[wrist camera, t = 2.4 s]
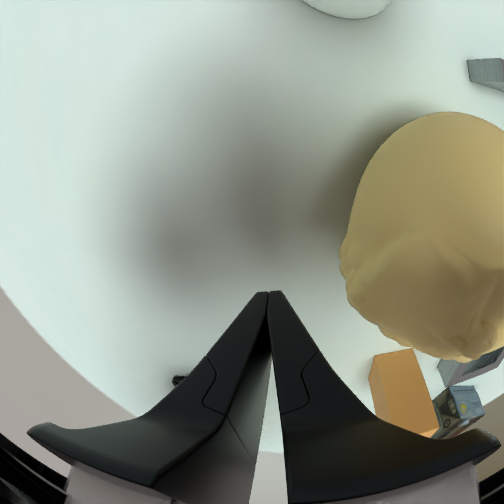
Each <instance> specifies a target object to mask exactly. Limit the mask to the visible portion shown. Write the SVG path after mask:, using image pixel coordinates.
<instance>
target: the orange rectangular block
mask: <svg viewBox="0 0 504 504" xmlns="http://www.w3.org/2000/svg"><path fill="white" fill-rule="evenodd" d="M368 380H369V384H370V389H371V393H372V398H373V403H374V408H375V413H376V416H377V417H378V418H380V419H382V420H384V421H386V422H389V423H391V424H394V425H396V426H399V427H401V428H404V429H406V430H409V431H412V432H414V433H417V434H420V435H423V436H425V437H429V438H430V437H431V436H432V435H433V434H434V433H435V432H436V431H437V430H438V429H439V428H440V427H439V424H438V420H437V417H436V413H435V410H434V407H433V404H432V401H431V398H430V395H429V392H428V389H427V386H426V383H425V380H424V377H423V375H422V372H421V369H420V366H419V364H418V361H417V359H416V356H415V354H414V351H413V349H412V348H411V349H406V350H401V351H396V352H391V353H385V354H380V355H375V356H374V360H373V364H372V367H371V371H370V374H369V378H368Z"/></svg>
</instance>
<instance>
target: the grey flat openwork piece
mask: <svg viewBox="0 0 504 504" xmlns="http://www.w3.org/2000/svg"><path fill="white" fill-rule="evenodd" d="M467 63H468V69H469V76H470V81H472V82H476V83H479V84H483V85H486V86H489V87H492V88H495V89H498V90H501V91H504V60H503V59H501V58H490V59H475V60H467ZM503 358H504V346H503V347H501V348H499V349H497V350H494V351H492V352H489V353H486V354H483V355H481V357H480V358H479V359H477V360H472V361H470V362H467V363H461V362H458V361H455V360H453V359H452V360H444V359H441V361H440V363H439V365H438V366H437V368H438V370H439V373H440V375H441V378H442V380H443V383H444V385H445V387H448V386H451V385H454V384H457V383H460V382H463V381H465V380H468V379H471V378H473V377H476V376H478V375H481V374H483V373H486V372H488V371H490V370H493V369H495V368H497V367H498V366H499V364H500V363H501V361H502V360H503Z"/></svg>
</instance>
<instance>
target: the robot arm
mask: <svg viewBox="0 0 504 504" xmlns="http://www.w3.org/2000/svg"><path fill="white" fill-rule="evenodd" d="M272 359H273V367H274V374H275V382H276V389H277V397H278V404H279V412H280V419H281V427H282V436H283V448H284V459H285V469H286V470H285V471H286V482H287V494H288V495H287V496H288V504H504V468H502V469H501V470H499V471H498V472H496V473H495V474H493V475H491V476H490V477H488V478H486V479H484V480H483V481H481V482H478V477H477V472H476V468H475V465H477V464H478V463H480V462H481V461H483V460H484V459H485V458H487V457H488V456H490V455H491V454H493V453H494V452H495V451H497V449H499V448H500V447H501V443H500V441H499V440H498V439H497V438H496V437H495V436H493V435H492V434H491V433H488V432H486V431H484V430H483V429H480V428H476V429H473V430H470V431H467V432H465V433H463V434H460V435H458V436H455V437H452V438H448V439H433V438H429V437H425V436H423V435H420V434H417V433H414V432H412V431H409V430H406V429H404V428H401V427H399V426H396V425H394V424H391V423H389V422H386V421H384V420H382V419H380V418H378V417H377V416H376V415H374V414H373V413H372V412H371V411H370V410H369V409H368V408H367V407H366V406H365V405H364V404H363V403H362V402H361V401H360V400H359V399H358V398H357V396H356V395H355V394H354V393H353V392H352V391H351V390H350V389H349V388H348V387H347V385H346V384H345V383H344V382H343V381H342V380H341V379H340V377H339V376H338V375H337V374H336V373H335V371H334V370H333V369H332V367H331V366H330V365H329V363H328V362H327V360H326V359H325V357H324V356H323V354H322V353H321V351H320V350H319V348H318V347H317V345H316V344H315V342H314V340H313V339H312V337H311V336H310V334H309V333H308V331H307V330H306V328H305V326H304V325H303V323H302V322H301V320H300V319H299V317H298V316H297V314H296V313H295V311H294V309H293V308H292V306H291V305H290V303H289V302H288V300H287V299H286V297H285V295H284V294H283V292H282V291H281V290H277V291H270V292H267V291H265V292H257V293H256V294H255V295H254V296H253V297H252V299H251V300H250V301H249V302H248V304H247V305H246V306H245V307H244V309H243V310H242V311H241V312H240V314H239V315H238V316H237V317H236V319H235V320H234V321H233V322H232V324H231V325H230V326H229V327H228V329H227V330H226V331H225V332H224V333H223V335H222V336H221V337H220V338H219V340H218V341H217V342H216V343H215V344H214V346H213V347H212V348H211V349H210V351H209V352H208V353H207V354H206V356H204V358H203V359H202V360H201V361H200V362H199V364H198V365H197V366H196V367H195V368H194V369H193V370H192V371H191V373H190V374H189V375H188V376H187V377H186V378H182V377H173V380H172V383H173V384H174V386H175V388H174V389H173V390H172V391H171V392H170V393H169V394H168V395H167V396H165V397H164V398H163V399H162V400H161V401H160V402H159V403H158V404H157V405H155V406H154V407H153V408H152V409H151V410H150V411H148V412H147V413H145V414H144V415H142V416H140V417H137V418H135V419H131V420H127V421H122V422H118V423H113V424H108V425H102V426H97V427H91V428H85V429H65V428H62V427H59V426H57V425H55V424H53V423H48V422H47V423H43V424H39V425H36V426H34V427H32V428H30V429H29V430H28V431H27V434H28V435H29V436H30V437H31V438H32V439H33V440H35V441H36V442H37V443H39V444H40V445H41V446H43V447H44V448H46V449H47V450H48V451H50V452H51V453H53V454H54V455H56V456H57V457H59V458H60V459H62V460H64V461H65V462H67V463H68V464H70V465H71V466H72V467H71V469H70V472H69V475H68V478H66V477H64V476H63V475H61V474H59V473H57V472H56V471H54V470H52V469H51V468H49V467H47V466H46V465H44V464H43V463H41V462H40V461H38V460H37V459H35V458H34V457H32V456H31V455H29V454H28V453H26V452H25V451H23V450H22V449H21V448H19V447H18V446H17V445H15V444H14V443H13V442H11V441H10V440H9V439H7V438H6V437H5V436H4V435H2V434H1V433H0V504H249V499H250V494H251V489H252V483H253V478H254V472H255V465H256V461H257V455H258V449H259V443H260V437H261V430H262V424H263V418H264V411H265V404H266V398H267V391H268V384H269V377H270V369H271V362H272Z"/></svg>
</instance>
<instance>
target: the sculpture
mask: <svg viewBox="0 0 504 504" xmlns="http://www.w3.org/2000/svg"><path fill="white" fill-rule="evenodd" d="M339 258H340V260H341V264H340V272H341V274H342V275H343V277H344V278H345V280H346V292H347V299H348V302H349V303H350V305H351V306H352V307H354V308H355V309H356V310H357V311H358V312H359V314H360V315H361V316H362V317H363V318H365V319H366V320H367V321H369V322H371V323H373V324H375V325H377V326H378V327H379V329H380V331H381V332H382V334H383V335H385V336H386V337H388V338H390V339H393V340H395V341H397V342H398V343H399V344H400V345H402V346H407V347H412V348H414V349H416V350H419V351H421V352H423V353H426V354H428V355H431V356H433V357H437V358H442V359H444V360H452V359H453V360H455V361H458V362H461V363H467V362H470V361H472V360H477V359H479V358H480V357H481V355H483V354H486V353H489V352H492V351H494V350H497V349H499V348H501V347H503V346H504V131H503V130H501V129H500V128H498V127H497V126H495V125H493V124H492V123H490V122H488V121H486V120H484V119H481V118H479V117H476V116H473V115H469V114H465V113H459V112H438V113H432V114H428V115H425V116H422V117H419V118H417V119H415V120H412V121H411V122H409V123H407V124H405V125H404V126H402V127H401V128H399V129H398V130H397V131H396V132H394V133H393V134H392V135H391V136H390V137H389V138H388V139H387V140H386V141H385V142H384V143H383V144H382V145H381V146H380V147H379V149H378V150H377V151H376V153H375V154H374V155H373V157H372V159H371V160H370V162H369V164H368V165H367V167H366V169H365V171H364V173H363V176H362V178H361V180H360V183H359V186H358V189H357V192H356V196H355V199H354V202H353V206H352V210H351V214H350V219H349V225H348V230H347V233H346V236H345V239H344V241H343V242H342V244H341V246H340V249H339Z"/></svg>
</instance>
